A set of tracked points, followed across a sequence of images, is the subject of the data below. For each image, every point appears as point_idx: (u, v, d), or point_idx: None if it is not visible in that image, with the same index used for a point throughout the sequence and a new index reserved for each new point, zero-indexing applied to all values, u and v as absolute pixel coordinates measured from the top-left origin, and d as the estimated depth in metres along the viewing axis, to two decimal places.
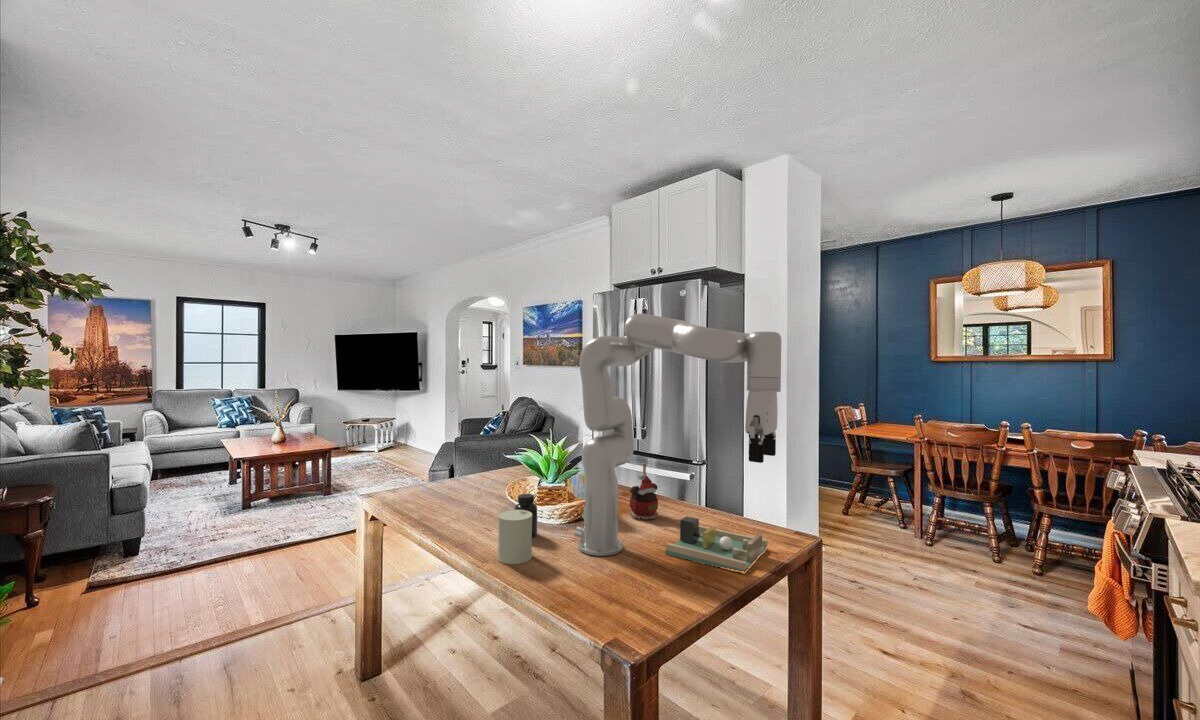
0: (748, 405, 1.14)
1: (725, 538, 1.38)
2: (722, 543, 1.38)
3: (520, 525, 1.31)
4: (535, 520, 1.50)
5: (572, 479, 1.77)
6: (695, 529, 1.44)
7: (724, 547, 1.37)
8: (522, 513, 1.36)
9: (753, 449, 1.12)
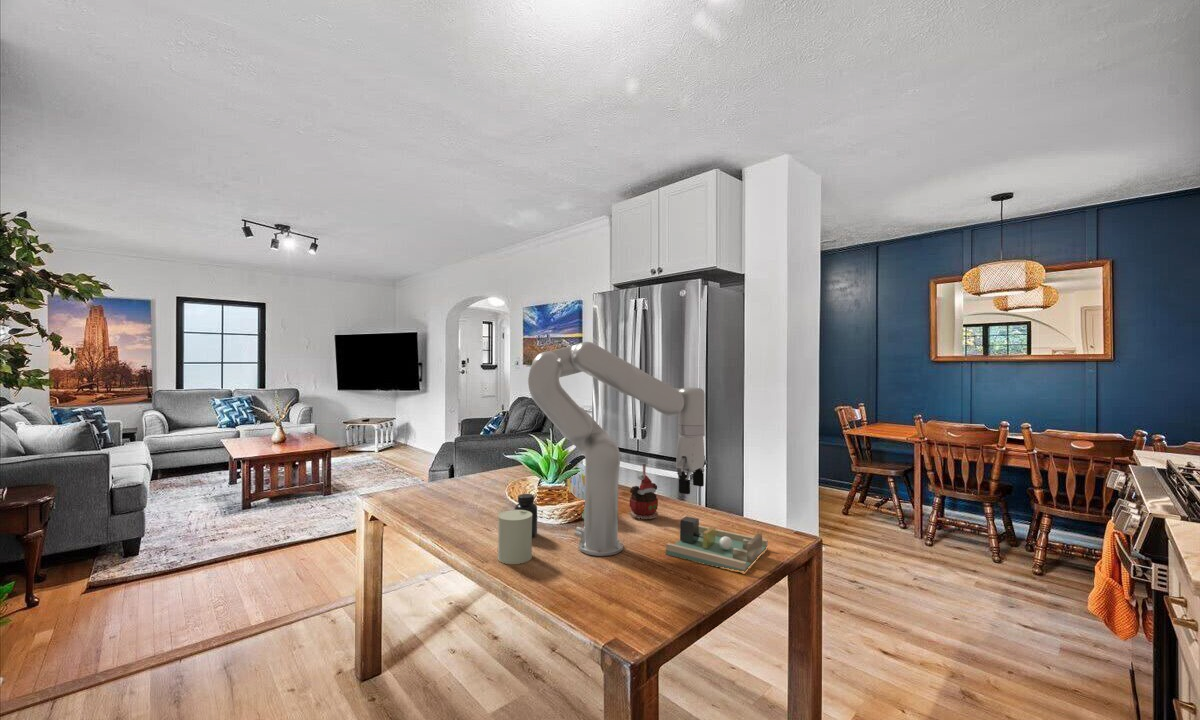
0: (678, 448, 1.42)
1: (725, 538, 1.38)
2: (722, 543, 1.38)
3: (520, 525, 1.31)
4: (535, 520, 1.50)
5: (572, 479, 1.77)
6: (695, 529, 1.44)
7: (724, 547, 1.37)
8: (522, 513, 1.36)
9: (681, 483, 1.40)
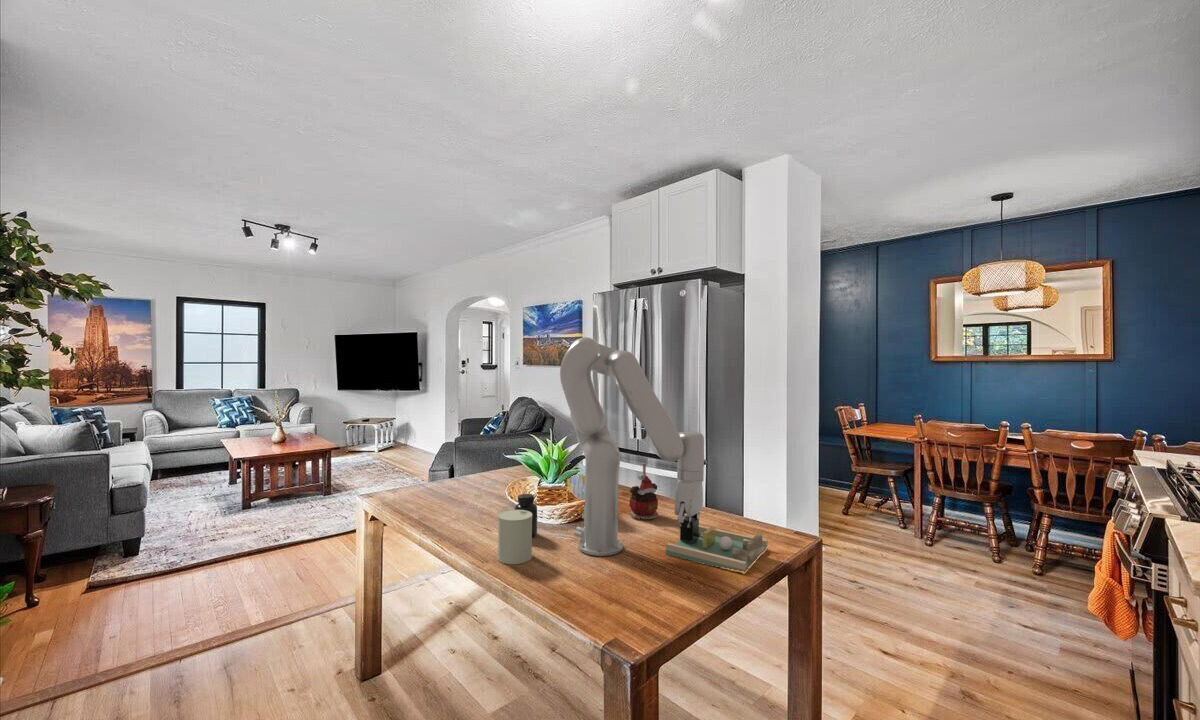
0: (676, 493, 1.42)
1: (725, 538, 1.38)
2: (722, 543, 1.38)
3: (520, 525, 1.31)
4: (535, 520, 1.50)
5: (572, 479, 1.77)
6: (695, 529, 1.44)
7: (724, 547, 1.37)
8: (522, 513, 1.36)
9: (683, 531, 1.42)
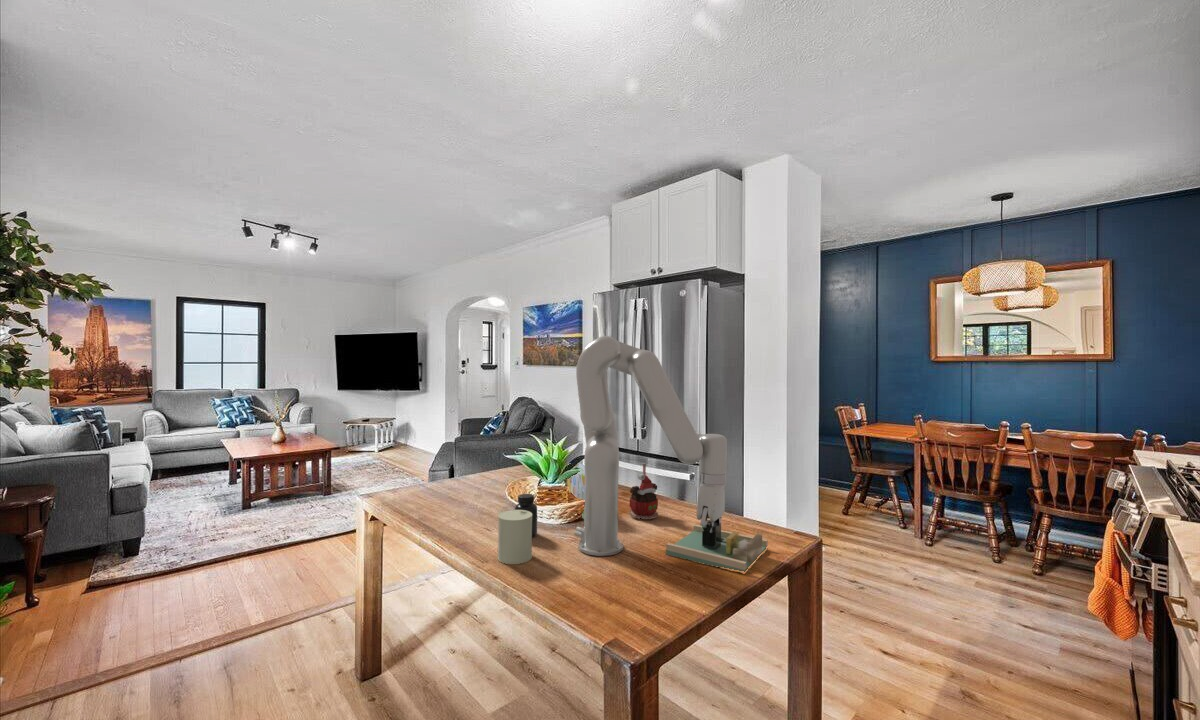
0: (699, 497, 1.38)
1: None
2: (744, 549, 1.34)
3: (520, 525, 1.31)
4: (535, 520, 1.50)
5: (572, 479, 1.77)
6: (718, 534, 1.40)
7: (740, 547, 1.35)
8: (522, 513, 1.36)
9: (706, 536, 1.39)
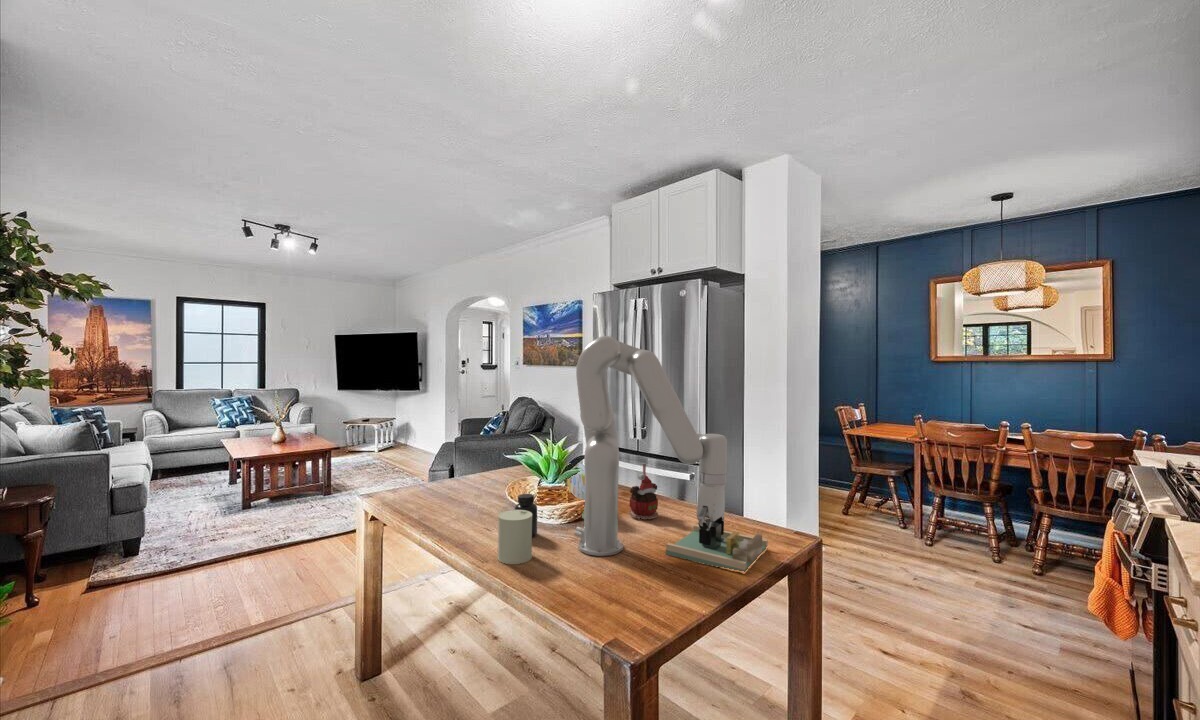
0: (699, 497, 1.38)
1: None
2: None
3: (520, 525, 1.31)
4: (535, 520, 1.50)
5: (572, 479, 1.77)
6: (718, 534, 1.40)
7: (741, 547, 1.35)
8: (522, 513, 1.36)
9: (702, 534, 1.37)
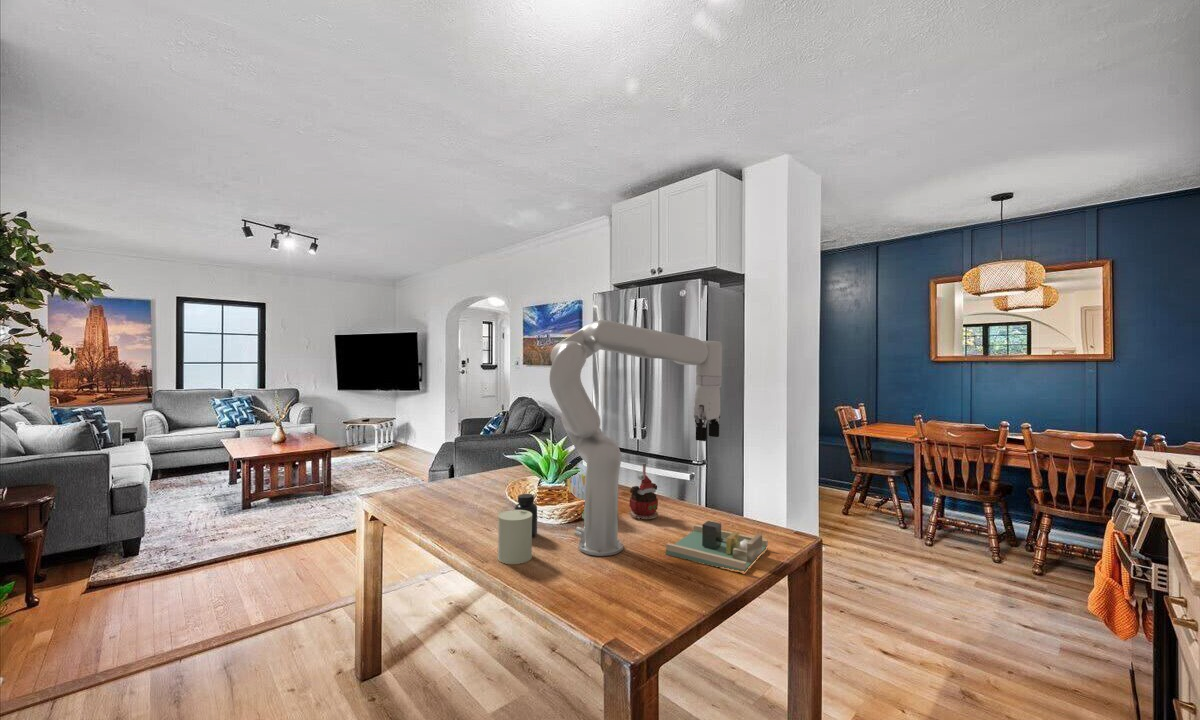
0: (695, 397, 1.48)
1: None
2: None
3: (520, 525, 1.31)
4: (535, 520, 1.50)
5: (572, 479, 1.77)
6: (718, 534, 1.40)
7: (741, 547, 1.35)
8: (522, 513, 1.36)
9: (698, 431, 1.46)
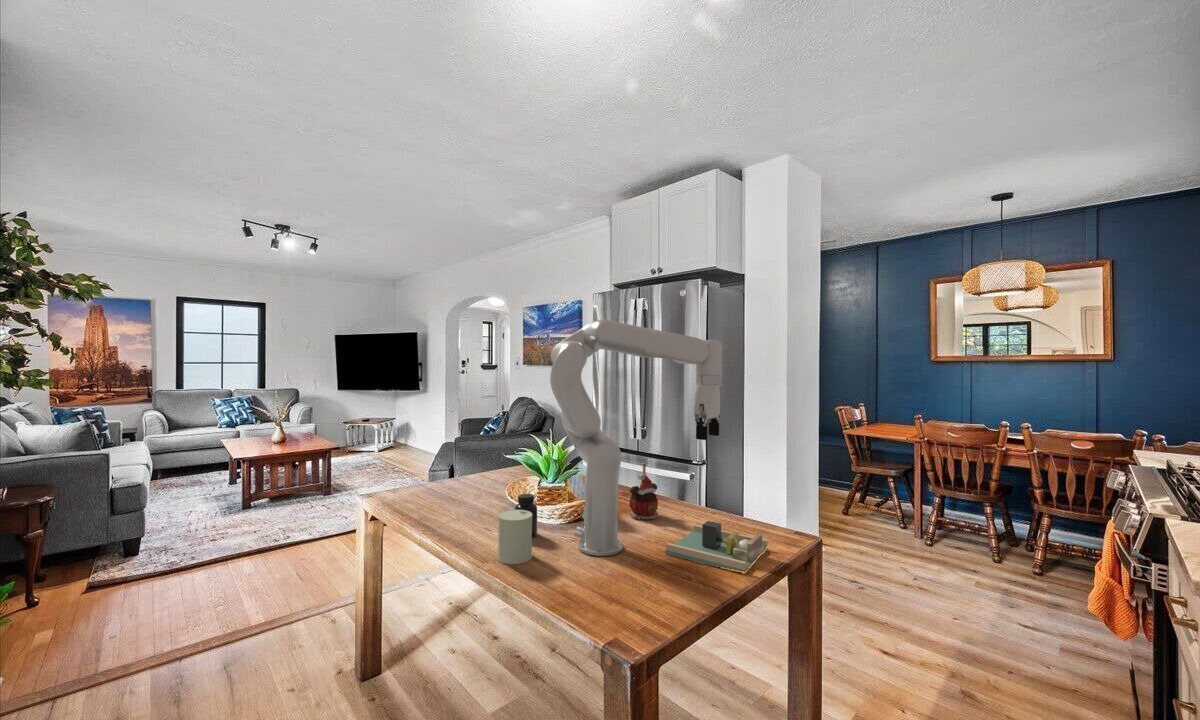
0: (696, 396, 1.48)
1: None
2: (743, 549, 1.34)
3: (520, 525, 1.31)
4: (535, 520, 1.50)
5: (572, 479, 1.77)
6: (718, 534, 1.40)
7: (740, 547, 1.35)
8: (522, 513, 1.36)
9: (699, 429, 1.47)
